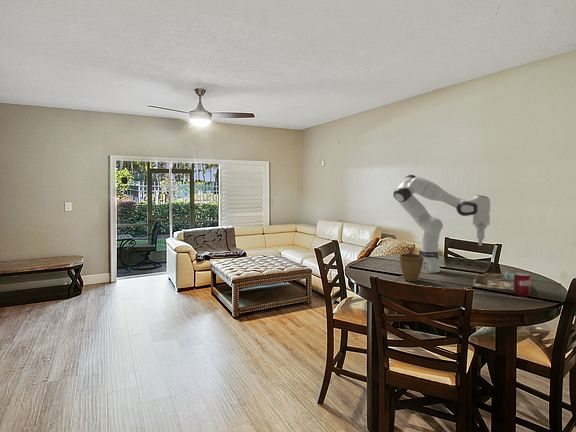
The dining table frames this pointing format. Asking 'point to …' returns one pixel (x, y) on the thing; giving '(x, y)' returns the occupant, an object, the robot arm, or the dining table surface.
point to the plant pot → (411, 266)
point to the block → (479, 278)
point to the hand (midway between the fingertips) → (480, 244)
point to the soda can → (522, 284)
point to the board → (495, 283)
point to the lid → (509, 276)
